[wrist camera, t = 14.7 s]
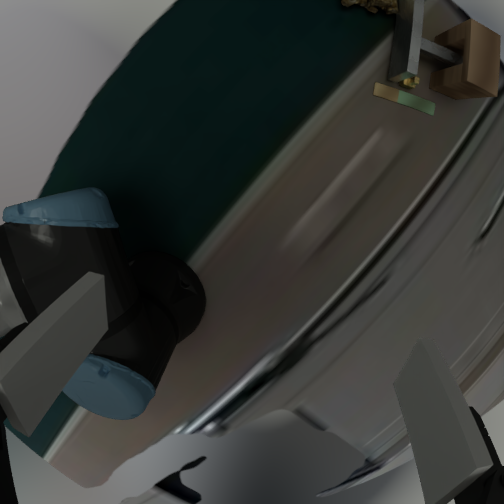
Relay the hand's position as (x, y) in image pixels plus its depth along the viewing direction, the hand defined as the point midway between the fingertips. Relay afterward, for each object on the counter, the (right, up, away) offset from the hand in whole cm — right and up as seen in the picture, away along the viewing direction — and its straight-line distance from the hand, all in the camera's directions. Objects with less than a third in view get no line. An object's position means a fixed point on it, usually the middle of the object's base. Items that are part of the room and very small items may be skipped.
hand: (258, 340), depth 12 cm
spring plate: (+23, +30, +18) cm, 42 cm away
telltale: (+20, +25, +22) cm, 39 cm away
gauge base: (+22, +28, +21) cm, 41 cm away
